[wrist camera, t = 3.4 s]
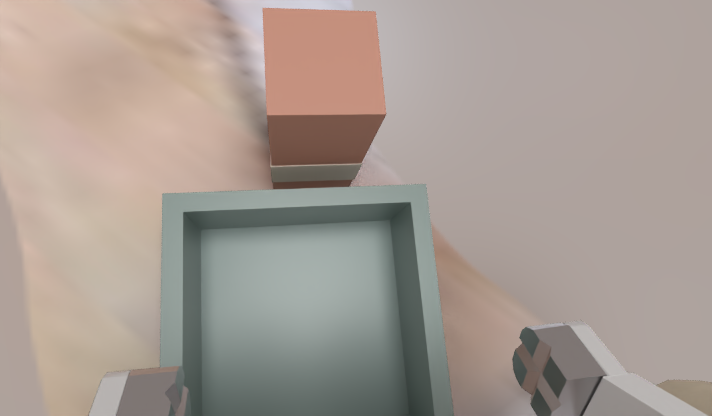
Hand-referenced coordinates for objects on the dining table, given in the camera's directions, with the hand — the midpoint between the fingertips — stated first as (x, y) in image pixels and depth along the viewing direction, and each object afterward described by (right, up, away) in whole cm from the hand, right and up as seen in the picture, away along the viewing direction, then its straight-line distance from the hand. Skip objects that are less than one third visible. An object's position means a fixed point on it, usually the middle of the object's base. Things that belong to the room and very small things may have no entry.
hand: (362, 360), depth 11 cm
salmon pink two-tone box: (-3, +7, +20) cm, 22 cm away
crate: (-3, -3, +17) cm, 18 cm away
